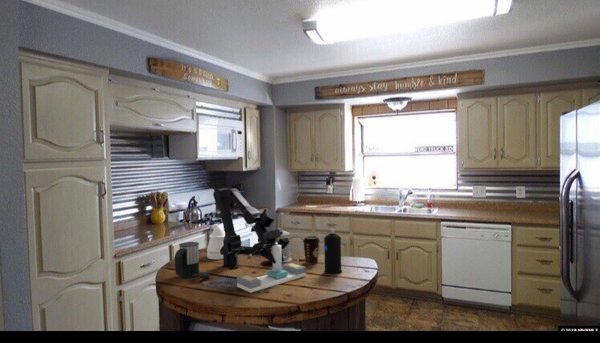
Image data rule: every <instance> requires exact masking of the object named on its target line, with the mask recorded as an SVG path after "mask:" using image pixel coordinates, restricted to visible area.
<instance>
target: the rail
mask: <svg viewBox="0 0 600 343" xmlns="http://www.w3.org/2000/svg"><path fill="white" fill-rule="evenodd" d="M306 268H307V267H306V266H303V265H301V264H297V263H293V262H289V263H285V264H282V270H285V271H288V276H285V277H282V278H279V279H276V278H273V277H270V276H267V274H265V275H261V276H257V277H254V276H252V275H249V274H244V275H239V276H237V277H236V287H237V288H238V289H239V288H240V289H242V290H244V291H245V292H249V293H250V294H251V293H254V292H255V293H256V292H257V291H261V290H264V289H267V288H271V287H275V286H277V285H280V284H283V283H288V282H291V281H294V280H297V279H301V278H303V277H306V276H307V269H306Z"/></svg>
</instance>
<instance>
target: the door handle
mask: <svg viewBox="0 0 600 343" xmlns="http://www.w3.org/2000/svg"><path fill="white" fill-rule="evenodd" d="M252 247H253V246H249V245H246V246H245V245H241V248H240V252H239V253H237V256H238V255H240V254H244V255H247V258H248V259H252V258H254V257H255V256H260V255H259V254H260V251H258V255H255V256H252V255H251V253H250V250H251V248H252ZM270 251H271V253H272V249H271V248H270Z"/></svg>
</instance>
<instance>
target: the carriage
mask: <svg viewBox="0 0 600 343" xmlns="http://www.w3.org/2000/svg"><path fill="white" fill-rule="evenodd" d="M271 253H272V255H273V257H274V259H275V261H276V263H275V264H274V263H272V268H271V269H269V270H267V271H266V275H267V276H270V277H273V278H276V279H279V278H282V277H285V276H288V271H285V270H283V264H282V263H283V262H282V255H281V245H273V246H272V252H271Z"/></svg>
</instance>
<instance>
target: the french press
mask: <svg viewBox="0 0 600 343" xmlns="http://www.w3.org/2000/svg"><path fill="white" fill-rule="evenodd" d="M279 215H280V216H284V215H285V214H284V212H280V213H279ZM281 230H282V232H283V234H282V235H281V236H280V237H281V238H284V237H286V236H290V235H291V233H290V232H288V231H286V230H283V228H281ZM278 241H279V239H277V240H276V241H275V243H276V242H278ZM271 249H272V248H271ZM282 253H283V259H284V261H283V262H282V263H287V262H291V261H292V260H293V259H292V258H291V244H290V242H289V243H288V245H287V246H286V247H285V248H284V249H282Z"/></svg>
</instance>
